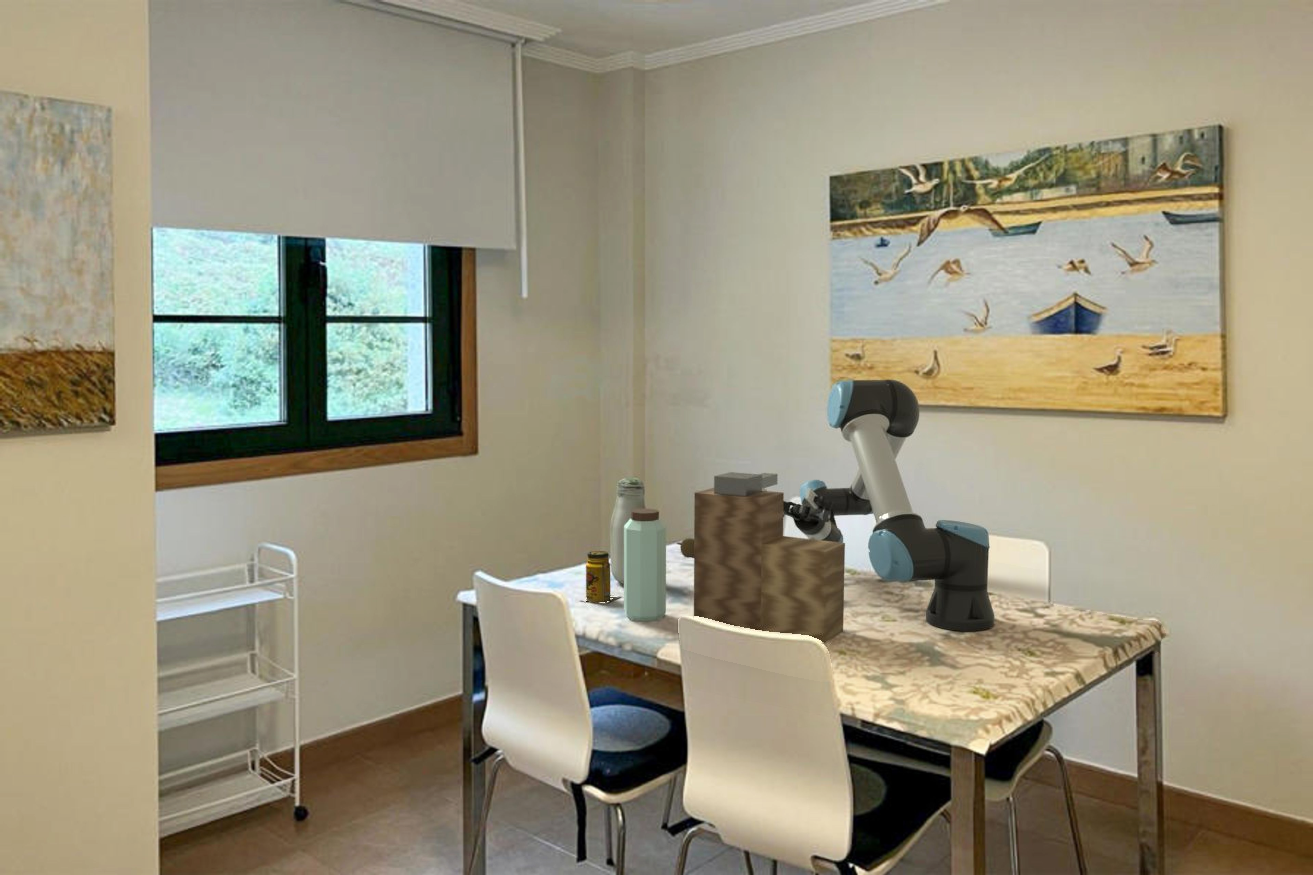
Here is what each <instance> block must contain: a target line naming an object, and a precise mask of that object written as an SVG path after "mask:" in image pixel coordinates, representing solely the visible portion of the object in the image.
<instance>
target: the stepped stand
mask: <svg viewBox="0 0 1313 875" xmlns="http://www.w3.org/2000/svg"><path fill="white" fill-rule="evenodd" d="M784 494H785V493H784V492H781V491H770V490H767V491H762V492H761V493H757V494H754V495H750V496H747V497H743V496H732V495H722V494H714V487H712V488H707V489H702V490H699V491H696V492H694V502H693V503H694V510H693V511H694V513H693V514H694V516H693V517H694V519H693V520H694V521H693V522H694V523H693V524H694V525H693V526H694V528H693V531H694V533H693V536H694V537H693V539H694V558H693V617H694V616H699V617H704V618H708V619H712V620H715V621H719V622H723V623H726V624H730V625H734V626H740V627H744V628H750V629H755V630H762V631H769V632H780V633H792V634H801V635H809V636H812V637H814V638H817V639H819V640H821V641H822V642H824V644H826V643H827V642H829V641H831V640H832V639H833V638H835V637H837V636H838V635H840V634H842V633H843V632H844V612H845V610H844V608H845V607H844V606H845V604H844V602H845V567H846V566H845V558H846V556H845V554H846V553H845V551H846V543H845V542H843V543H841V542H832V541H823V540H814V539H809V538H804V537H797V536H795V537H793V536H786V535H784V517H783V502H784V501H785V499H784V496H785V495H784Z"/></svg>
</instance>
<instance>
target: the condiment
mask: <svg viewBox="0 0 1313 875" xmlns="http://www.w3.org/2000/svg"><path fill="white" fill-rule="evenodd" d="M609 556H610V554H609V552H607V551H604V550H593V551H592V550H591V551H589V552H588V553H587V556H586V558H587V559H586V561H587V562H586V565H585V598H587V599H586V600H587V601H589V602H588V603H590V602H595V603H594V604H600V605H606V604H609V603H608V602H607V601H611V602H614V601H615V600H617V599H619V598H621V597H622V595H617V596H618V597H610V596H612V595H611V562H610V558H609ZM610 598H613V599H612V600H610ZM580 602H585V603H587V602H586V601H583V599H581V601H580ZM599 602H605V603H599Z"/></svg>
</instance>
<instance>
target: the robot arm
mask: <svg viewBox="0 0 1313 875" xmlns="http://www.w3.org/2000/svg"><path fill="white" fill-rule="evenodd" d="M826 417H827V422H828V425H829V426H830V427H831V428H835V429H840V432H841V435H842V438H843V439H844V440H846V441H848V443H851V445H852V446H851V447H852V449H853V452H854V455H855V458H856V462H857V465H858V470H857V472H856V474H855V477H854V479H853V480H852V482H851V485H850V486H849V487H840V488H839V487H838V488H837V487H834V488H832V487H831V488H828V486H827V485H826V483H825V481H824V480H820V479H812V480H809V481H807V482H804V483H803V484H802V485H801V487H800V488H799V496H800V502H801V504H800V503H795V502H792V501H786V500H784V502H783V518H784V517H785V516H788V517H790V518H792V519H793V523H794V525H795V527H796V528H797V529H798V530H799V531H800V532H801V533H802V534H803V535H804V536H806V537H807V539H814V540H823V541H832V542H841V543H844V535H843V533H842V531H841V529H840V528H838V524H837V521H836V518H835V517H837V516H868V515H872V514H873V516H874V520H875V524H874V527H873V528H872V533H871V535H870V537H869V539H868V546H867V548H868V550H869V552H868V556H869V560H870V564H871V566H872V569H873V570H874V572H875V573H876V575H878V577H879V578H880V579H882V580H884V581H886V582H890V583H892V582H893V583H894V582H896V583H897V582H898V583H903V584H904V583H907V582H918V581H919V582H920V581H934V589H933V591H932V593H931V596H930V599H929V603H928V605H927V607H926V610H925V611H926V612H925V622H927V623H928V624H930V625H931V626H934V627H936V628H941V629H946V630H950V631H951V630H952V631H960V632H961V631H962V632H976V631H977V632H978V631H986V630H989V629H992V628H993V627H994V626H995V613H994V610H993V606H992V603H991V599H990V596H989V593H988V578H989V576H988V575H989V557H990V556H989V554H990V552H989V551H990V547H991V546H990V537H989V531H988V530H987V529H986V528H985V527H983V526H981V525H977V524H975V523H970V522H965V521H957V520H948V519H940V520H937V521H936V524H935V527H932V528H931V527H929V528H928V527H927V528H926V526H925V524H924V520H923V518H922V516H921V515H920V514H917V513H915V512H913V509H912V506H911V502H910V500H909V497H908V494H907V492H906V491H907V490H906V487H905V485H904V482H903V479H902V476H901V473H900V469H899V466H898V464H897V461H896V459H897V457H898V456H899V455H898V454H899V453H900V451H901V449H902V447H903V445H904V443H905V441H906V440H907V438H909V437H911V436H912V435H913V434H914V432H915V430H916V428H917V425H918V423H919V420H920V405H919V401H918V399H917V396H916V394H915V393H914V392H913V389H911V388H910V387H909V386H908V385H906V384H905V383H903V382H901V381H898V380H896V379H864V380H863V379H861V380H859V379H858V380H854V379H852V378H851V379H848V380H839V381H837V382H835V383H834V384H833V385H832V387H831V389H830V391H829V394H828V398H827V406H826ZM762 491H768V490H767V489H766V488H763V489H762Z"/></svg>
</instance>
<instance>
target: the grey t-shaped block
mask: <svg viewBox="0 0 1313 875" xmlns="http://www.w3.org/2000/svg"><path fill="white" fill-rule="evenodd" d="M713 477H714V478H713V485H714V486H713V488H714V494H722V495H732V496H743V497H747V496H750V495H754V494H757V493H761V492H762V489H763V488H765V489H766V488H769V487H772V486H773V487H774V486H776V485H778V473H772V472H771V473H769V472H768V473H767V472H763V473H759V474H758V473H757V474H756V473H747V472H746V473H745V472H732V471H729V472H726V473H723V474H718V475H714V476H713Z"/></svg>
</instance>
